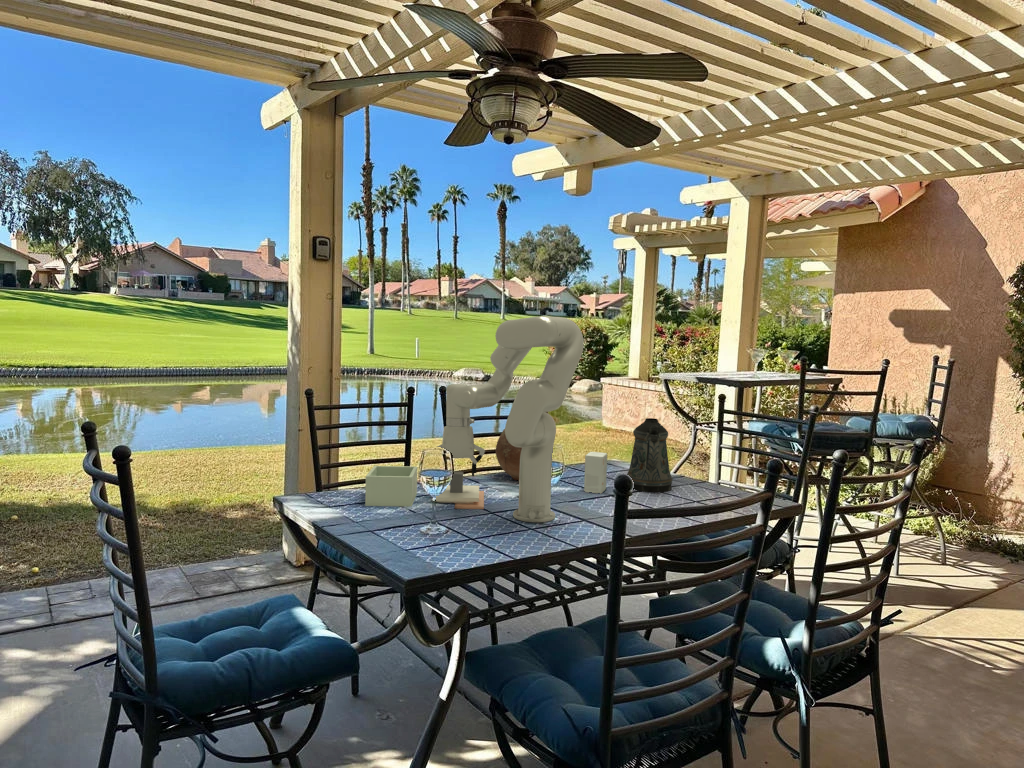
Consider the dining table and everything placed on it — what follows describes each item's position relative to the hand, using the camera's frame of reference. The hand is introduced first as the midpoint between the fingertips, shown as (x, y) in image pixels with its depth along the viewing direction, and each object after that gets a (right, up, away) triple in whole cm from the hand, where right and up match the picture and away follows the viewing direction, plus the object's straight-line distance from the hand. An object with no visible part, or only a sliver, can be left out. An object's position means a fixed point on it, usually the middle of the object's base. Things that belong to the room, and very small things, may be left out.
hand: (458, 475), depth 219 cm
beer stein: (+67, -8, +26) cm, 73 cm away
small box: (+47, -8, +20) cm, 51 cm away
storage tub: (-21, -8, -4) cm, 22 cm away
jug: (+22, -6, +36) cm, 42 cm away
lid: (-1, -7, +1) cm, 7 cm away
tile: (-1, -8, +1) cm, 8 cm away
